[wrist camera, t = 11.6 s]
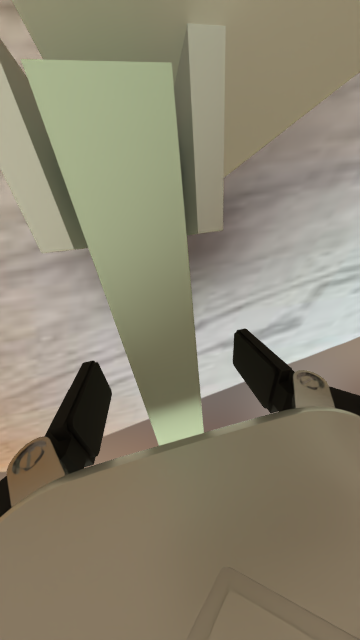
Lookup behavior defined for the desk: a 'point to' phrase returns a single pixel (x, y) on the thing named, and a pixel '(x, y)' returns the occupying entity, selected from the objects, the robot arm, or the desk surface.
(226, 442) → the robot arm
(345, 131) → the desk surface
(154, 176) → the door
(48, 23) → the cabinet
